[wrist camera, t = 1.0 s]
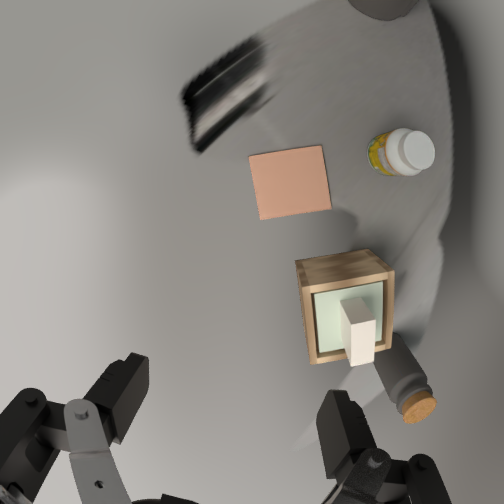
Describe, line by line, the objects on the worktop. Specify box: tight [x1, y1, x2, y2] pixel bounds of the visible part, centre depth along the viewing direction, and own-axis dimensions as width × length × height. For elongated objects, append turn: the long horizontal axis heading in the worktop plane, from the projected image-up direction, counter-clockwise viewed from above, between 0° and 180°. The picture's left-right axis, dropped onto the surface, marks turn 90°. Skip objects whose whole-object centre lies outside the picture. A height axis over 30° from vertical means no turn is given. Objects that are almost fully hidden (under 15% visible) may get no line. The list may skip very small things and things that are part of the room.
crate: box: [295, 249, 394, 365], centre depth 32 cm, size 10×10×9 cm
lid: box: [313, 280, 383, 367], centre depth 26 cm, size 8×8×6 cm
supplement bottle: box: [367, 128, 435, 176], centre depth 26 cm, size 5×5×10 cm
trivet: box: [249, 146, 331, 220], centre depth 33 cm, size 9×8×1 cm
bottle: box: [373, 333, 437, 424], centre depth 31 cm, size 6×6×15 cm
